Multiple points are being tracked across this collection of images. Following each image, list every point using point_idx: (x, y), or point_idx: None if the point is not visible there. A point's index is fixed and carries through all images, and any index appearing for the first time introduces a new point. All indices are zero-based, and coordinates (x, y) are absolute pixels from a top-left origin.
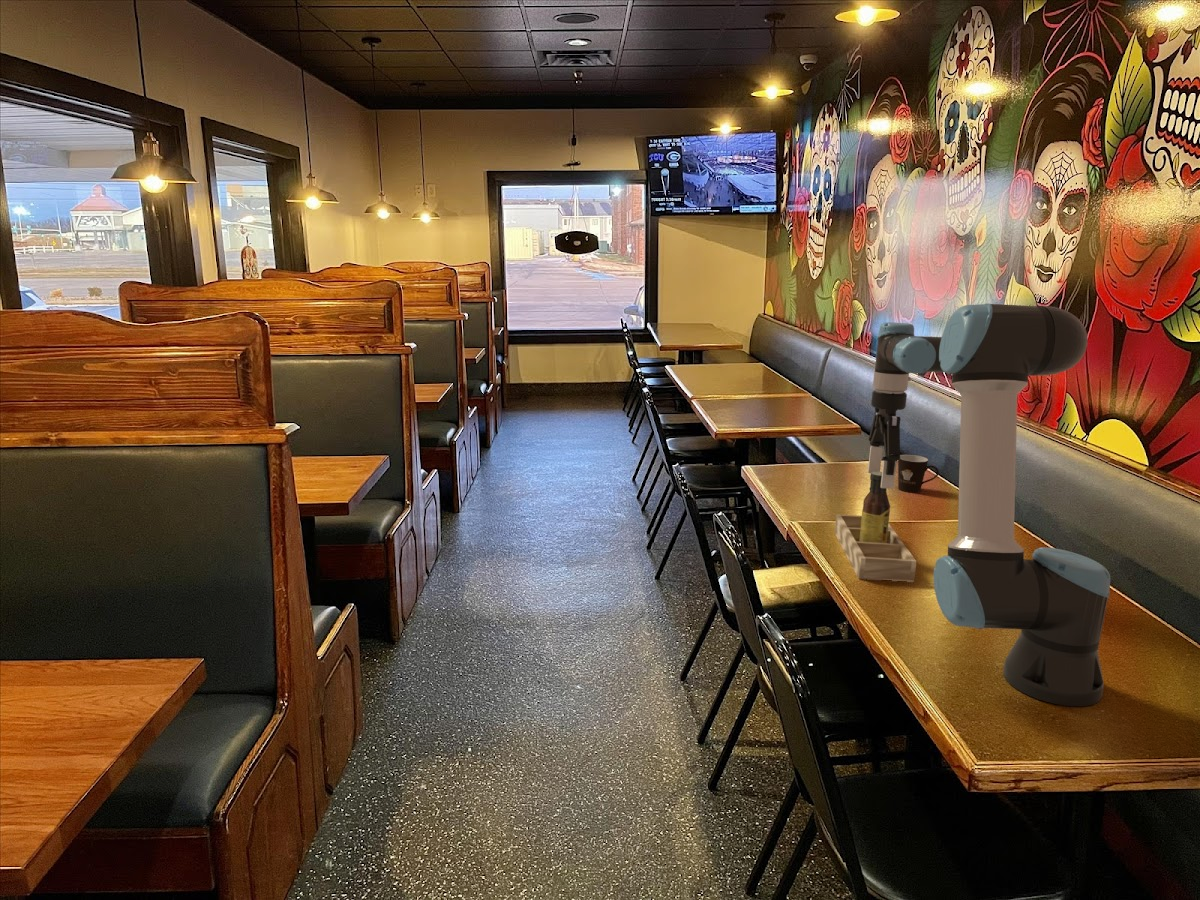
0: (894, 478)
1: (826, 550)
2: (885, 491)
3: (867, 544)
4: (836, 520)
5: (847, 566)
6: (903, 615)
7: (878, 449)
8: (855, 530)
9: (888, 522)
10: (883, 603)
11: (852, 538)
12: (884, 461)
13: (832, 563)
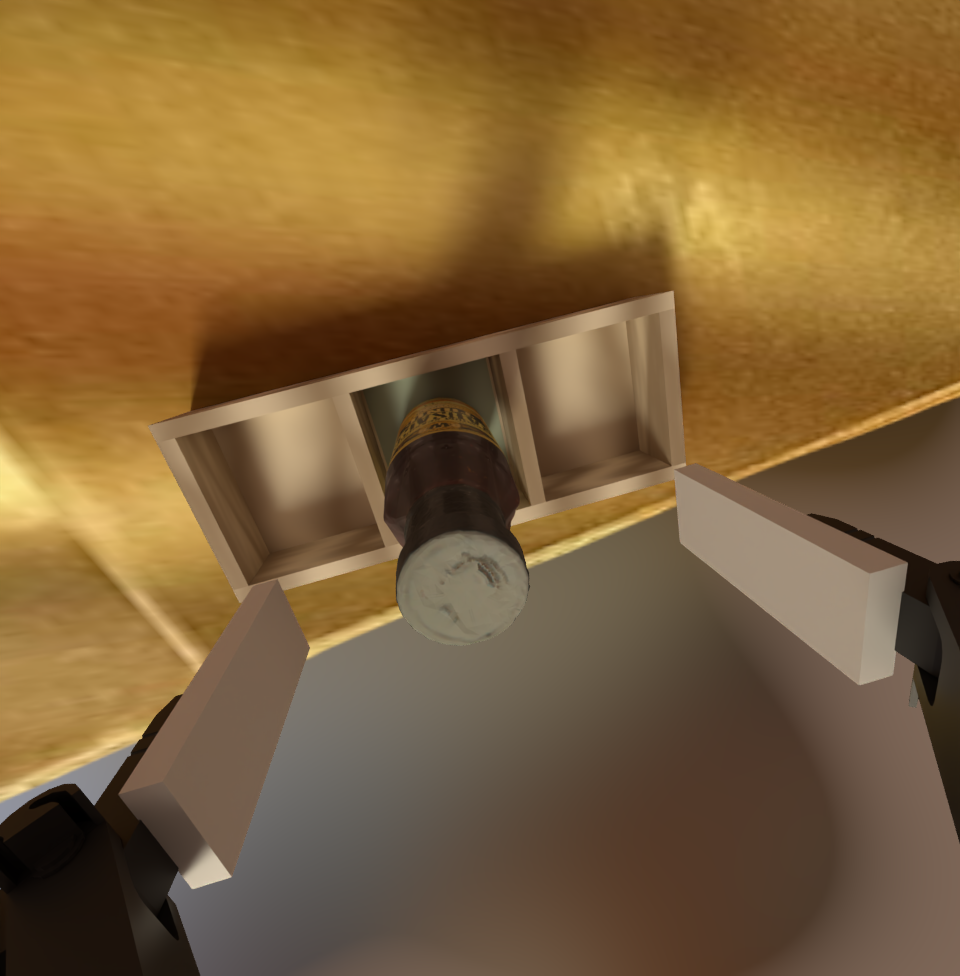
0: (750, 489)
1: None
2: (479, 490)
3: (538, 466)
4: None
5: None
6: (860, 332)
7: (202, 785)
8: None
9: (455, 415)
10: (795, 385)
11: None
12: (879, 663)
13: (553, 534)
